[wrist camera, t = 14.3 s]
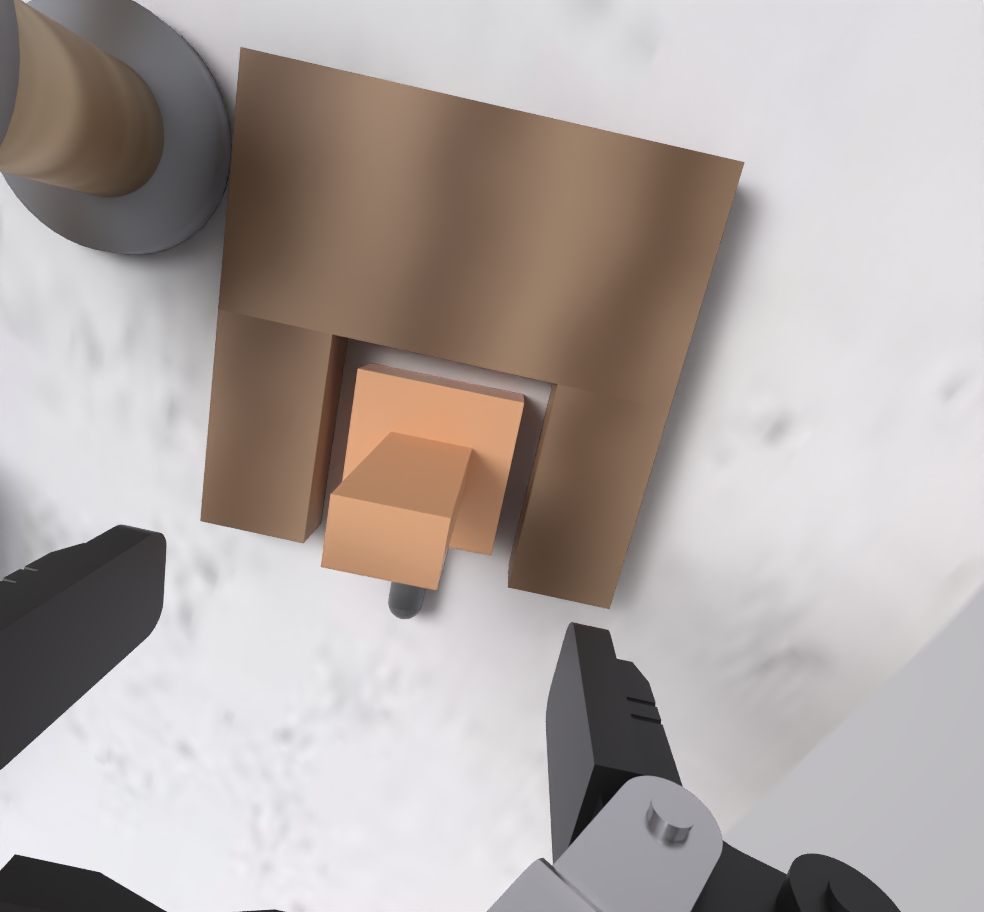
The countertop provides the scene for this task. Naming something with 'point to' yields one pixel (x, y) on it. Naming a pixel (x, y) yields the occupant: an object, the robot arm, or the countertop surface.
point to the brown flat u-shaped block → (454, 294)
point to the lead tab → (419, 478)
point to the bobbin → (109, 124)
